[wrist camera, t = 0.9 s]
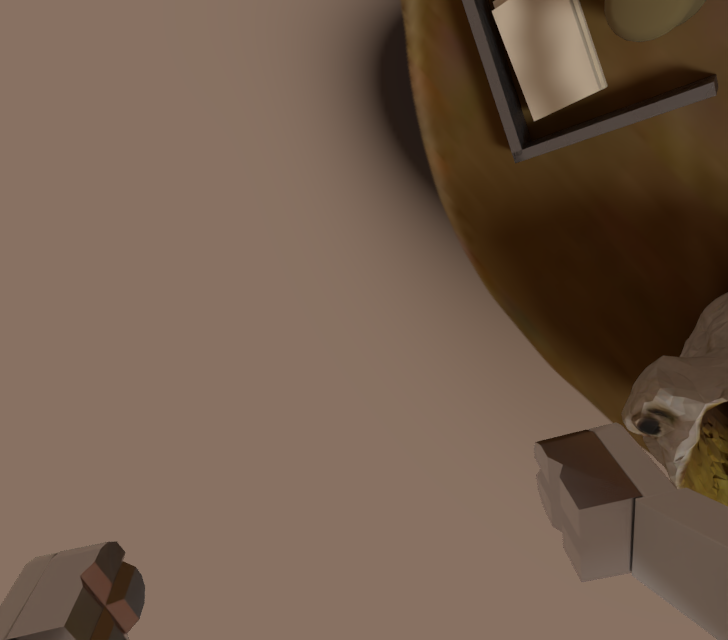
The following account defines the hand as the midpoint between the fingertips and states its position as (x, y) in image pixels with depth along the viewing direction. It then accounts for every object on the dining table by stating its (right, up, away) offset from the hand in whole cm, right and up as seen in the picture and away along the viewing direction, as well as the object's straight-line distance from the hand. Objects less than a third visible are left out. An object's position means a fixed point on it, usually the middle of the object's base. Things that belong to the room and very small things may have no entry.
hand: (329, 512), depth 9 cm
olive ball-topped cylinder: (+24, +29, +27) cm, 47 cm away
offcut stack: (+18, +29, +34) cm, 47 cm away
